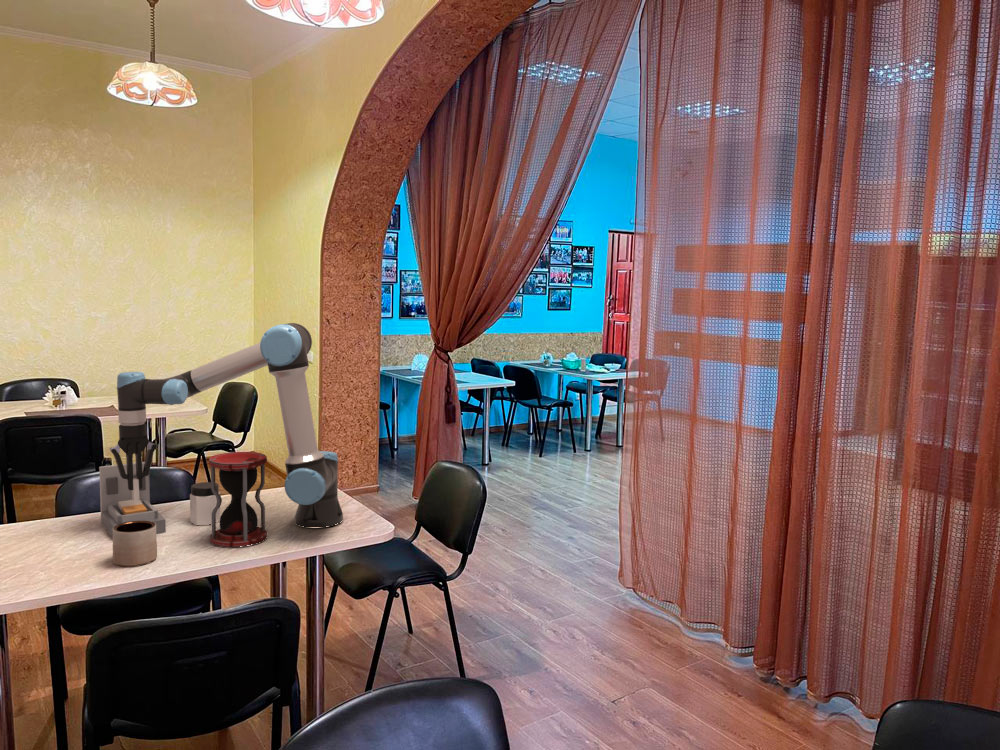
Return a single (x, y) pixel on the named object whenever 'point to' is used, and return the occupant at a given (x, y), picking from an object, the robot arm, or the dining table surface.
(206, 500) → the jar
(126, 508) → the rocker switch
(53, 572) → the dining table surface
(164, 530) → the grey fixture stand
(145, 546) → the planter
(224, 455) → the hourglass
